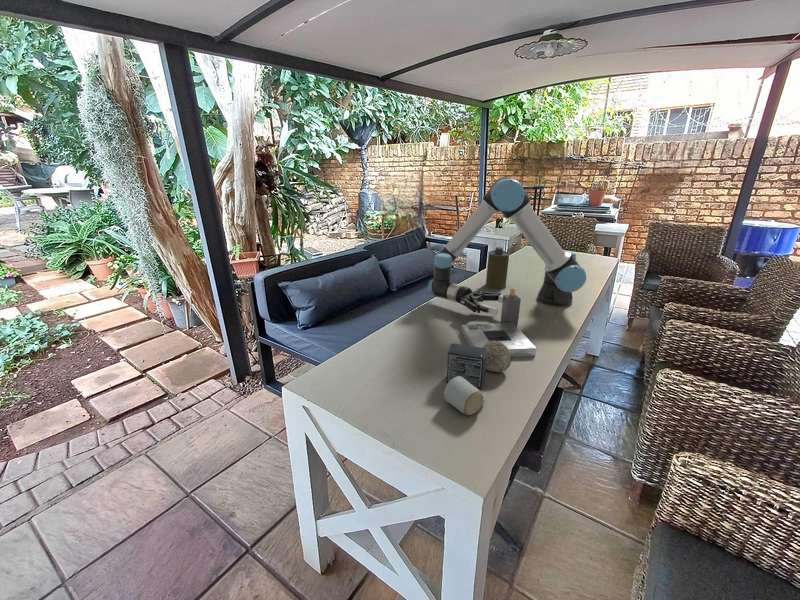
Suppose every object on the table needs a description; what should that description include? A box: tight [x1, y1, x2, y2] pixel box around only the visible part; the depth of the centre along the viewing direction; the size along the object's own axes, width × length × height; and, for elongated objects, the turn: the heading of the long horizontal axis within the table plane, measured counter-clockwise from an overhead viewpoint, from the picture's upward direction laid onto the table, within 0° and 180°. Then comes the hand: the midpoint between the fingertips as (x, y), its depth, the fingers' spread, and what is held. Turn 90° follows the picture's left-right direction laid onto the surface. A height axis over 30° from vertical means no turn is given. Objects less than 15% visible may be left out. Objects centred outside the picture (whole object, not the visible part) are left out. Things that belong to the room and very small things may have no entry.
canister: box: [485, 246, 511, 290], centre depth 186 cm, size 11×10×20 cm
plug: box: [499, 288, 522, 327], centre depth 142 cm, size 5×5×15 cm
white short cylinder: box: [443, 376, 486, 416], centre depth 97 cm, size 11×8×8 cm
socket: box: [461, 322, 537, 358], centre depth 131 cm, size 20×20×4 cm
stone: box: [483, 341, 512, 373], centre depth 113 cm, size 6×10×10 cm, turn 51°
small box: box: [445, 343, 487, 390], centre depth 107 cm, size 11×6×10 cm, turn 71°
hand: (505, 307), depth 143 cm, fingers open, 13 cm apart
